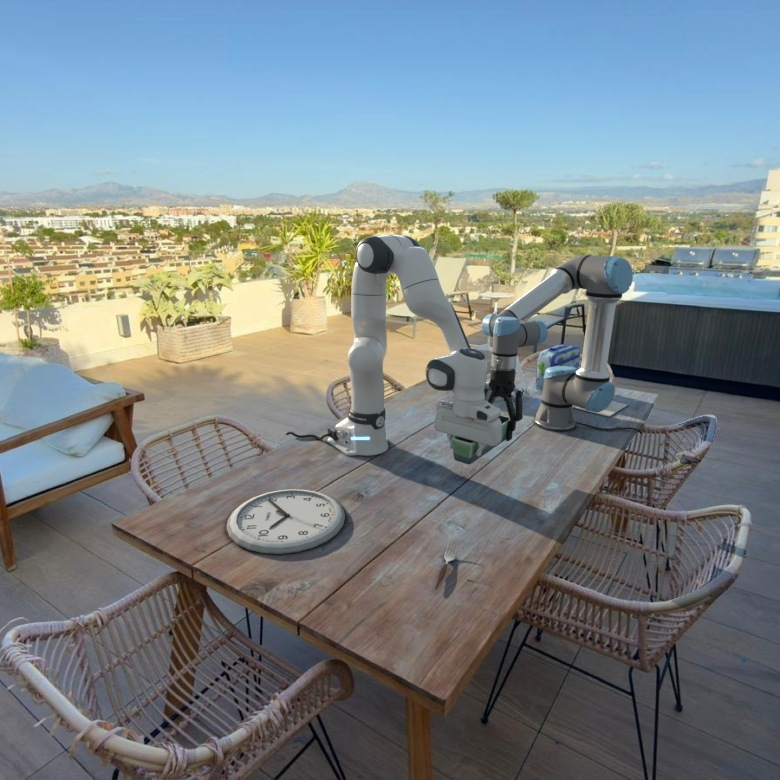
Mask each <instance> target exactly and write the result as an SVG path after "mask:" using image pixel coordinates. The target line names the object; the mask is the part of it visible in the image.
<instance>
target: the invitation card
mask: <svg viewBox="0 0 780 780" xmlns="http://www.w3.org/2000/svg"><path fill="white" fill-rule="evenodd" d="M628 406H629V404H627V403H623V402H618V401H614V400H612V402H611V403H610V405H609V406H608V407H607V408H606V409H605V410H603V411H601V412H593V411H588V410H586V409H583V408H580V407H577V406H574V407H573V409H575V410H581V411H584V412H587V413H593V414H596V415H600V416H604V417H608V418H609V417H611V416H613V415H614V414H616V413H617V412H619V411H621V410H623V409H624V408H626V407H628Z"/></svg>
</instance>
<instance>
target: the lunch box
mask: <svg viewBox="0 0 780 780" xmlns="http://www.w3.org/2000/svg"><path fill="white" fill-rule="evenodd" d="M580 350H581V349H580V347H579V346H572V345H566V344H559V345H555V346H552V347H549V348H547V349H544V350H542V351H541V352H540V353H539V355H538V357H537V362H536V374H535V389H536V390H537V391H541V392H542V391H543V380H544V379H543V378H544V375H545V370H546V369H547V368H549V367H555V366H570V367H575V368H577V370H578V369H579V368H580V357H581V351H580Z"/></svg>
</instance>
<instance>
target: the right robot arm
mask: <svg viewBox="0 0 780 780" xmlns="http://www.w3.org/2000/svg"><path fill="white" fill-rule="evenodd" d="M633 273H634V271H633V268H632V265H631V264H630V262H629V261H628V260H627V259H626V258H624V257H619V256H614V255H592V254H584V255H583V254H582V255H579V256H576V257H575V256H574V257H573V258H571V259H569V260H566V261H564V262H563V263H561V264H559V265H558V266H557V267H555V268H554V269H552V270H551V271H550V272H549V274H548V275H549V276H548V277H546V278H545V279H544V280H543V281H541V282H540V283H539V284H537V285H535V286H534V287H533V288H531V289H530V290H529V291H527V292H526V293H525V294H523V296H521V297H519V298H518V299H516V300H515V301H514V302H512V303H511V304H510V305H509V306H507V307H506V308H504V309H503V310H502V311H501V312H499V313H497V314H498V315H496V314H493V313H490V314H487V315H485V317H484V318H483V320H482V321H481V330H482V333H483V334H484V335H485V336H487V337H491V338H492V361H491V366H492V368H491V372H490V373H489V378H490V379H489V381H488V382H487V381H486V385H485V388H484V393H485V400H486V401H487V402H489V403H490V404H492V405H494V403H495V401H496V399H497V397H500V398H502V399H503V401H504V402H505V406H506V410H507V413H508V417H510V420H509V421H508V425H507V436H506V440H505V441H506V442H509V441H511V440H512V439H513V432H514V431H516V427H517V422H520V421H522V420H523V419H524V418H523V416H524V415H523V412H524V411H523V395H524V390H523V389H522V388H518V387H516V385H515V381H516V372H517V369H516V361H517V355H518V350H519V348H523V347H531V346H537V345H540V344H543V343H545V341H546V340H547V339H548V335H549V330H548V327H547V325H546V324H545V322H543V321H542V320H535V319H533V320H530V319H531V318H533V316H535V315H536V314H538V313H539V312H540V311H542V310H543V309H544V308H545V307H547V306H548V305H549V304H551V303H552V302H554V300H556V299H557V298H559V297H560V296H561V295H562V294H563V295H565V294H568V293H570V292H571V291H573V290H577V289H579V290H580V289H581V290H585V298H587V300H588V311H587V318H586V326H585V333H584V338H583V339H584V340H583V347H582V355H581V363H580V367H578V370H577V368H575V367H570V366H555V367H549V368H547V369H546V370H545V375H544V378H543V379H544V380H543V391H541V402H540V405H539V407H538V410H537V411H536V413H535V415H534V417H533V419H534V424H535V425H536V426H537V427H539V428H542V429H544V430H549V431H556V432H567V431H572V430H574V429H575V428H576V425H580V426H584V427H587V428H592V429H595V430H600V431H601V430H602V431H616V430H632V431H636V432H638V433H639V434H640V435H643V434H644V433H643V432H642V431H641V430H640V429H639V428H636V427H621V426H618V427H612V428H607V427H599V426H594V425H591V424H586V423H583V422H578V421H576V418H575V417H576V416H575V413H574V407H576V406H577V407H580V408H583V409H586V410H588V411H593V412H601V411H603V410H605V409H606V408H607V407H608V406H609V405H610V403H611V402H612V401H614V397H615V394H616V387H615V384H614V383H612V382H611V381H610V378H611V374H610V373H609V371H607V367H608V363H609V354H610V347H611V342H612V341H611V340H612V335H613V327H614V321H615V315H616V308H617V303H618V302H619V301H620V300H621V299H622V298H623V294H626V293H627V292H628V291H629V290H630V287H632V283H633V280H634V279H633V277H634V274H633ZM489 389H490V390H491V392H490V394H489V398H488V400H487V396H488V391H489ZM513 391H514V392H515V395H516V396H515V397H514V401H513V395H512V394H511V393H512V392H513ZM573 406H574V407H573ZM588 411H587V412H588Z"/></svg>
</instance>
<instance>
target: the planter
mask: <svg viewBox="0 0 780 780" xmlns="http://www.w3.org/2000/svg"><path fill="white" fill-rule="evenodd" d="M498 418H499V419H500V420H501V423H502V439H501V442H500V443H499V444H497V445H496V446H490V445H485V446H484V448H483V449H482V453H481V456H475V455H474V450H475V449H477V448H479V447H480V446H478V442H475V441H472V440H468V439H465V438H461V437H457V436H453V437H452V438H451V442H452V448H453V449H452V448H451V449H452V454H453V458H454V461H456V462H460V463H463V464H466V465H471V464H473V463H474V462H476V461H477V460H479V459H480V458H481V457H483V456H485V455H486V454H488V453H489V452H490V451H492V450H493V449H494V448H496V447H497V446H499V445H500V444H502V443H503V442H505V441H506V436H507V425H508V421H509V420H510V417H509V416H506V415H502V414H501V415H500V416H499V417H498Z"/></svg>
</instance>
